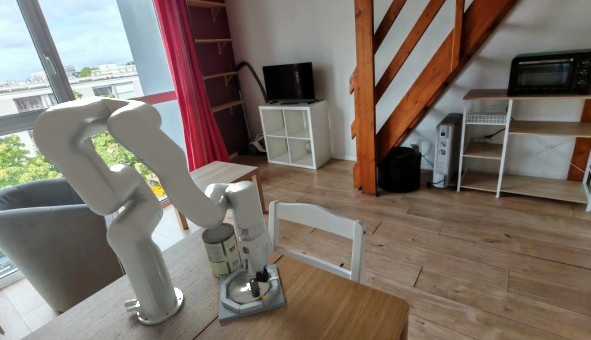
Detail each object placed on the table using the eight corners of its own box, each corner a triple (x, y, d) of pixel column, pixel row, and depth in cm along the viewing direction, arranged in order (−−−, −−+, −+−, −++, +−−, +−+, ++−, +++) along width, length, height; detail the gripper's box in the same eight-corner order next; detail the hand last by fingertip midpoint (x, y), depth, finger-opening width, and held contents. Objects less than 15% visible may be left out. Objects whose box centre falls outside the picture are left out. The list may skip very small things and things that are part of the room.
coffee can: (217, 257, 105) (208, 223, 100) (245, 256, 104) (237, 221, 98) (206, 277, 96) (196, 241, 90) (237, 277, 94) (228, 240, 89)
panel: (219, 322, 79) (217, 314, 78) (220, 280, 94) (218, 272, 93) (285, 305, 82) (283, 297, 80) (276, 266, 97) (274, 259, 96)
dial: (223, 287, 89) (218, 271, 87) (258, 268, 95) (255, 253, 93) (239, 312, 80) (235, 295, 77) (277, 289, 85) (274, 273, 83)
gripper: (251, 245, 70) (265, 302, 77) (273, 212, 83) (283, 264, 90) (224, 243, 73) (239, 299, 80) (250, 211, 86) (261, 261, 93)
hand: (263, 280), depth 85 cm, fingers closed
